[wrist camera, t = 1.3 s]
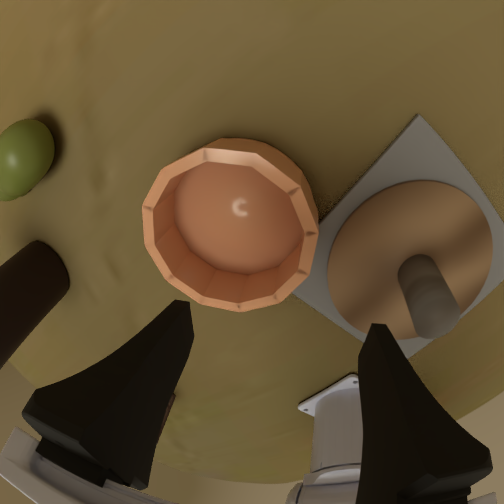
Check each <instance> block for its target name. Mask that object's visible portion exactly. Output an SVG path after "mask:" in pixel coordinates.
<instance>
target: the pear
mask: <svg viewBox="0 0 504 504" xmlns="http://www.w3.org/2000/svg"><path fill="white" fill-rule="evenodd" d="M54 151H55V147H54V140H53V137H52V134H51V132H50V131H49V129H48V128H47V127H46V126H45V125H44V124H43V123H41V122H40V121H37V120H34V119H24V120H20V121H18V122H16V123H14V124H12V125H11V126H9V127H8V128H7V129H6V130H5V131H4V132H3V133H2V134H1V135H0V201H11V200H14V199H16V198H18V197H20V196H24V195H26V194H27V193H28V191H29V190H30V189H32V188H33V187H34V186H35V185H36V184H37V183H38V182H39V181H40V180H41V179H42V178H43V176H44V175H45V174H46V172H47V171H48V169H49V168H50V166H51V164H52V161H53V158H54Z"/></svg>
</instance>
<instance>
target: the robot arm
mask: <svg viewBox="0 0 504 504" xmlns="http://www.w3.org/2000/svg"><path fill="white" fill-rule="evenodd" d="M193 340H194V331H193V324H192V317H191V310H190V303H189V302H187V301H181V300H174V301H173V302H172V303H171V304H170V305H168V306H167V307H166V308H165V309H164V310H163V311H162V312H161V313H160V314H159V315H158V316H157V317H156V318H155V319H153V320H152V321H151V322H150V323H149V324H148V325H147V326H146V327H144V328H143V329H142V330H141V331H140V332H139V333H138V334H136V335H135V336H134V337H133V338H131V339H130V340H129V341H128V342H126V343H125V344H124V345H123V346H121V347H120V348H119V349H117V350H116V351H115V352H113V353H112V354H110V355H109V356H107V357H106V358H104V359H103V360H101V361H99V362H98V363H96V364H94V365H92V366H90V367H89V368H87V369H85V370H83V371H81V372H79V373H77V374H75V375H73V376H71V377H69V378H66V379H64V380H62V381H59V382H57V383H54V384H51V385H48V386H45V387H42V388H39V389H36V390H35V391H34V393H33V394H32V396H31V398H30V399H29V401H28V403H27V404H26V406H25V407H24V409H23V411H22V417H23V418H24V419H25V420H26V422H27V423H28V424H29V425H31V427H32V428H34V429H35V431H37V432H38V433H39V434H40V435H41V436H42V439H41V441H40V442H39V441H38V440H36V439H35V438H34V437H32V436H31V435H29V434H28V433H26V432H24V431H23V430H21V429H20V428H18V427H15V428H14V430H13V431H12V433H11V435H10V437H9V439H8V440H7V442H6V444H5V446H4V448H3V450H2V452H1V454H0V475H1V476H2V477H3V478H5V479H6V480H7V481H8V482H9V483H11V484H12V485H13V486H14V487H16V488H17V489H18V490H19V491H21V492H22V493H23V494H24V495H26V496H27V497H28V498H30V499H31V500H32V501H34V502H35V503H37V504H177V503H173V502H170V501H166V500H163V499H160V498H157V497H154V496H150V495H148V494H145V493H142V492H139V491H136V490H133V489H131V488H128V487H132V488H135V489H137V490H143V489H145V488H147V487H148V483H149V477H150V472H151V466H152V462H153V457H154V453H155V448H156V444H157V440H158V437H159V433H160V429H161V426H162V422H163V419H164V415H165V412H166V409H167V406H168V404H169V401H170V399H171V396H172V394H173V392H174V389H175V387H176V385H177V383H178V380H179V378H180V376H181V373H182V371H183V369H184V367H185V364H186V362H187V359H188V357H189V353H190V350H191V347H192V343H193ZM298 409H299V410H301V411H303V412H305V413H307V414H309V415H312V416H314V431H313V443H312V454H311V465H310V473H309V474H304V480H303V483H297V484H296V485H295V486H294V488H293V489H292V490H291V491H290V492H289V494H288V497H287V500H286V504H497V500H496V493H495V492H492V493H489V494H487V495H484V496H481V497H477V498H475V499H472V500H469V501H467V495H469V494H470V493H471V488H470V486H471V485H473V484H475V483H476V482H478V481H479V480H481V479H483V478H485V477H486V476H487V475H489V474H490V473H491V471H492V469H493V466H492V460H491V455H490V450H489V448H487V447H486V446H485V445H483V444H482V443H481V442H479V441H478V440H477V439H475V438H474V437H473V436H472V435H470V434H469V433H468V432H467V431H466V430H465V429H464V428H462V427H461V426H460V425H459V424H458V423H457V422H456V421H455V420H454V419H453V418H452V417H451V416H450V415H449V414H448V413H447V412H446V411H445V410H444V409H443V407H442V406H441V405H440V404H439V403H438V402H437V400H436V399H435V398H434V397H433V395H432V394H431V393H430V392H429V390H428V389H427V388H426V387H425V385H424V384H423V382H422V381H421V379H420V378H419V377H418V375H417V374H416V372H415V371H414V369H413V367H412V366H411V364H410V363H409V361H408V360H407V358H406V356H405V355H404V353H403V351H402V350H401V348H400V346H399V345H398V343H397V341H396V340H395V338H394V336H393V335H392V333H391V331H390V330H389V328H388V326H387V325H386V324H378V323H372V324H371V326H370V329H369V331H368V334H367V336H366V339H365V341H364V344H363V346H362V349H361V351H360V354H359V356H358V376H357V375H354V374H351V375H348V376H347V377H345V378H344V379H342V380H340V381H339V382H337V383H335V384H334V385H332V386H330V387H329V388H327V389H325V390H324V391H322V392H320V393H318V394H317V395H315V396H313V397H311V398H310V399H308V400H306V401H304V402H302V403H300V404H299V405H298ZM123 485H125V486H128V487H125V486H123Z"/></svg>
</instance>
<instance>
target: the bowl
mask: <svg viewBox="0 0 504 504" xmlns="http://www.w3.org/2000/svg"><path fill="white" fill-rule="evenodd" d="M142 214H143V228H144V241H145V247H146V249H147V250H148V252H149V254H150V255H151V257H152V258H153V260H154V262H155V263H156V265H157V267H158V268H159V270H160V271H161V273H162V275H163V276H164V278H165V279H166V281H167V282H169V283H170V284H172V285H173V286H175V287H176V288H178V289H179V290H180V291H182V292H183V293H185V294H186V295H188V296H189V297H191V298H192V299H194V300H195V301H197V302H198V303H200V304H202V305H207V306H212V307H216V308H221V309H226V310H231V311H236V312H244V311H249V310H253V309H257V308H261V307H265V306H270V305H274V304H278V303H280V302H282V301H283V300H284V299H285V298H286V297H287V296H288V295H289V294H290V293H291V292H292V291H293V290H294V289H295V288H296V287H298V286H299V285H300V284H301V283H302V282H303V281H304V280H305V279H306V278H307V277H308V276H309V274H310V270H311V266H312V262H313V257H314V253H315V248H316V244H317V239H318V234H319V224H318V210H317V207H316V204H315V202H314V198H313V194H312V191H311V188H310V185H309V183H308V181H307V179H306V177H305V176H304V174H303V172H302V170H301V169H300V168H299V167H298V166H297V165H296V164H295V163H294V162H293V161H292V160H291V159H290V158H289V157H288V156H287V155H285V154H284V153H283V152H281V151H279V150H278V149H276V148H275V147H272V146H270V145H268V144H266V143H263V142H260V141H257V140H252V139H247V138H228V139H226V138H220V139H218V140H215V141H213V142H211V143H209V144H206V145H205V146H203V147H201V148H199V149H197V150H195V151H193V152H191V153H189V154H187V155H185V156H183V157H181V158H179V159H177V160H176V161H174V162H172V163H171V164H169V165H167V166H165V167H164V168H162V169H161V171H160V173H159V175H158V177H157V178H156V180H155V182H154V184H153V186H152V188H151V189H150V191H149V193H148V195H147V197H146V199H145V201H144V203H143V205H142Z"/></svg>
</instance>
